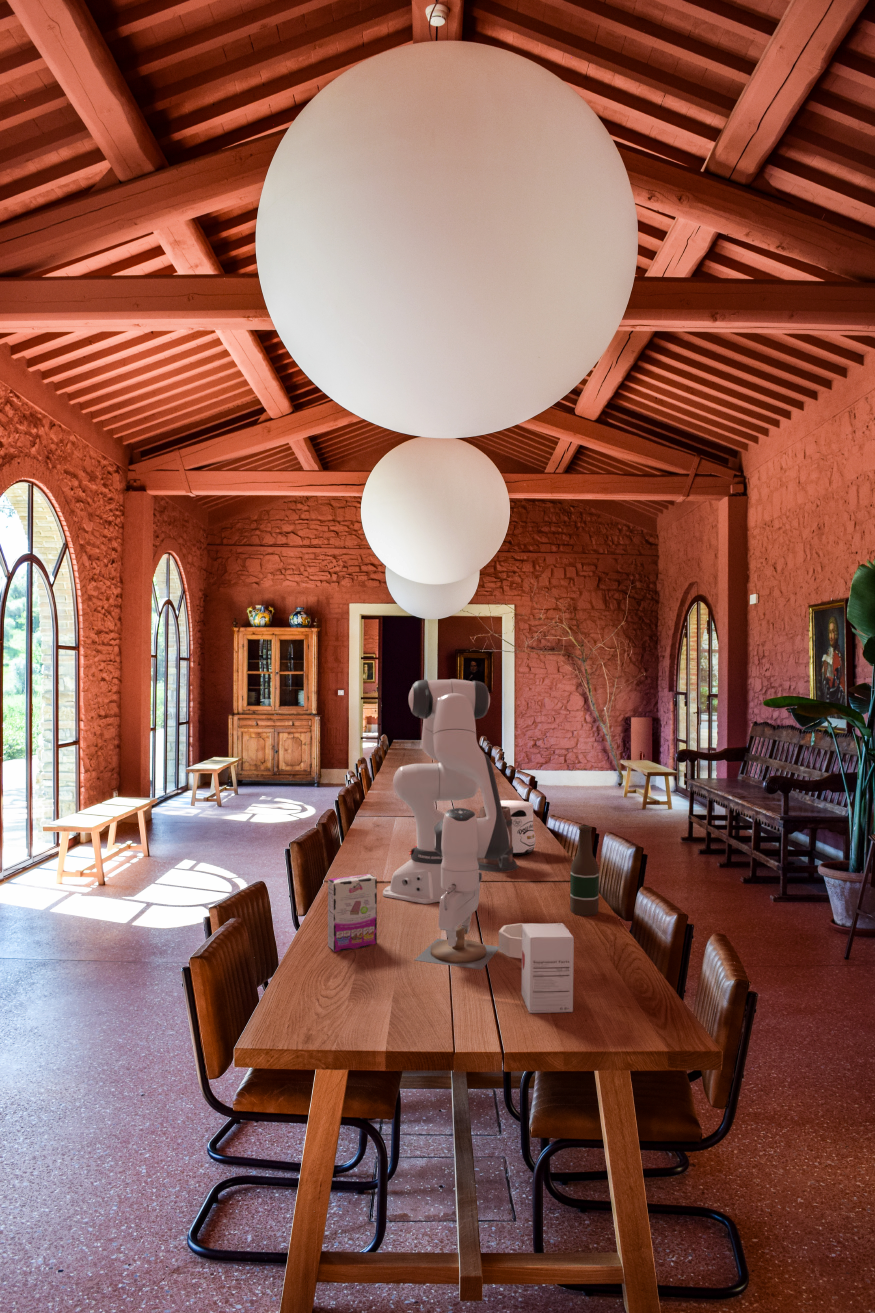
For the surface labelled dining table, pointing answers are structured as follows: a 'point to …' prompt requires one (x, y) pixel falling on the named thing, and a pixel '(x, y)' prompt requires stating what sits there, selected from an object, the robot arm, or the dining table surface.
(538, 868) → the dining table surface
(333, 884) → the candy bar box
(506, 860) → the tankard
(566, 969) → the supplement box
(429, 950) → the mat
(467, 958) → the lid
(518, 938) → the bowl
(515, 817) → the milk container
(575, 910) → the beer bottle
